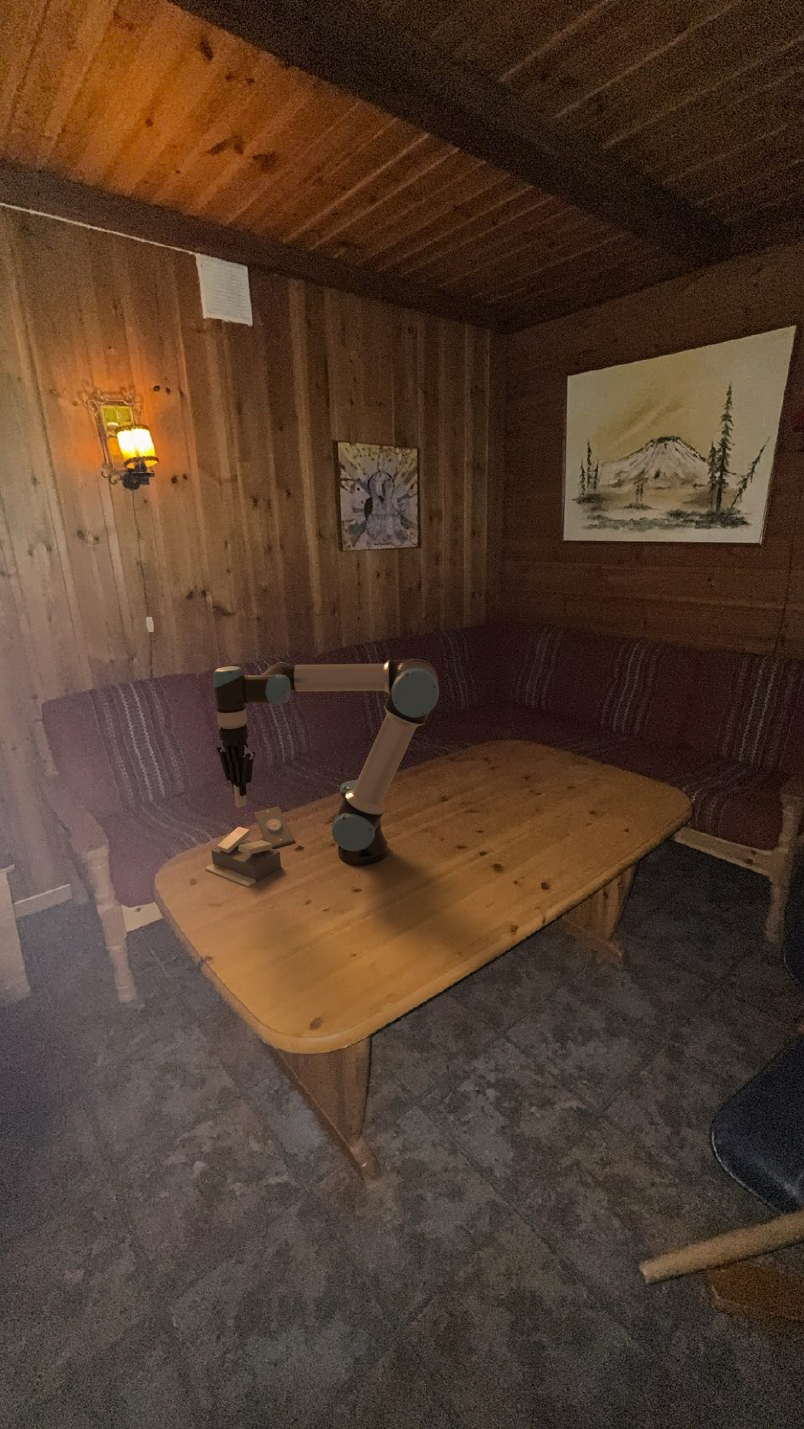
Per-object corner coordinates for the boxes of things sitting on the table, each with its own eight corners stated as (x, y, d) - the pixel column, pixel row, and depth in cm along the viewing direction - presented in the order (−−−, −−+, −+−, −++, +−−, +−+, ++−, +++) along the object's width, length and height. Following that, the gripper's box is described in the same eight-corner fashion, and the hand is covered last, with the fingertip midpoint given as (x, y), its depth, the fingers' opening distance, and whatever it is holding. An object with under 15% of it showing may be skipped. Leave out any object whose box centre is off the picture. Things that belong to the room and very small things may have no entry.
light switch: (269, 845, 193) (254, 810, 202) (267, 856, 197) (252, 821, 205) (295, 838, 197) (279, 804, 206) (293, 849, 201) (277, 815, 210)
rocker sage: (271, 849, 183) (272, 843, 183) (249, 854, 175) (249, 848, 175) (261, 845, 185) (261, 839, 185) (238, 850, 178) (238, 845, 178)
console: (281, 866, 184) (279, 847, 182) (248, 887, 174) (246, 867, 172) (238, 851, 194) (236, 832, 192) (205, 869, 183) (202, 850, 181)
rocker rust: (250, 834, 187) (248, 829, 187) (229, 853, 181) (227, 849, 180) (240, 830, 190) (238, 826, 189) (218, 849, 184) (217, 845, 183)
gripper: (260, 724, 166) (267, 805, 173) (227, 717, 173) (235, 795, 180) (239, 732, 160) (247, 815, 167) (205, 724, 167) (214, 805, 174)
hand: (241, 805), depth 173 cm, fingers closed
